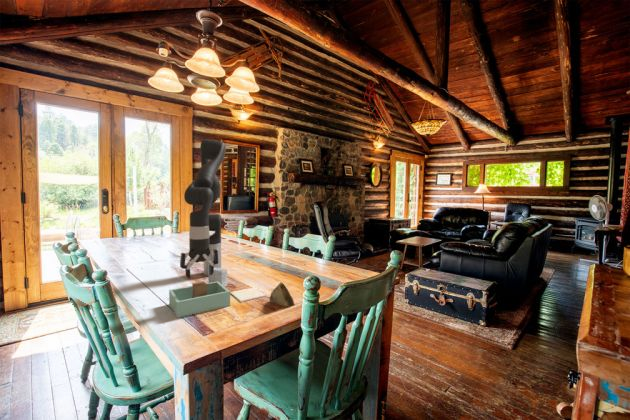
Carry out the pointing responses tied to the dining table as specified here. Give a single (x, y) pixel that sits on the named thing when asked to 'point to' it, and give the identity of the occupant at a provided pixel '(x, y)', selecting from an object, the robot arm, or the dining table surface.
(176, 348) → the dining table surface
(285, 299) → the rock
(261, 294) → the plate
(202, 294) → the oak block
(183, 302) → the box frame
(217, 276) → the medicine box
